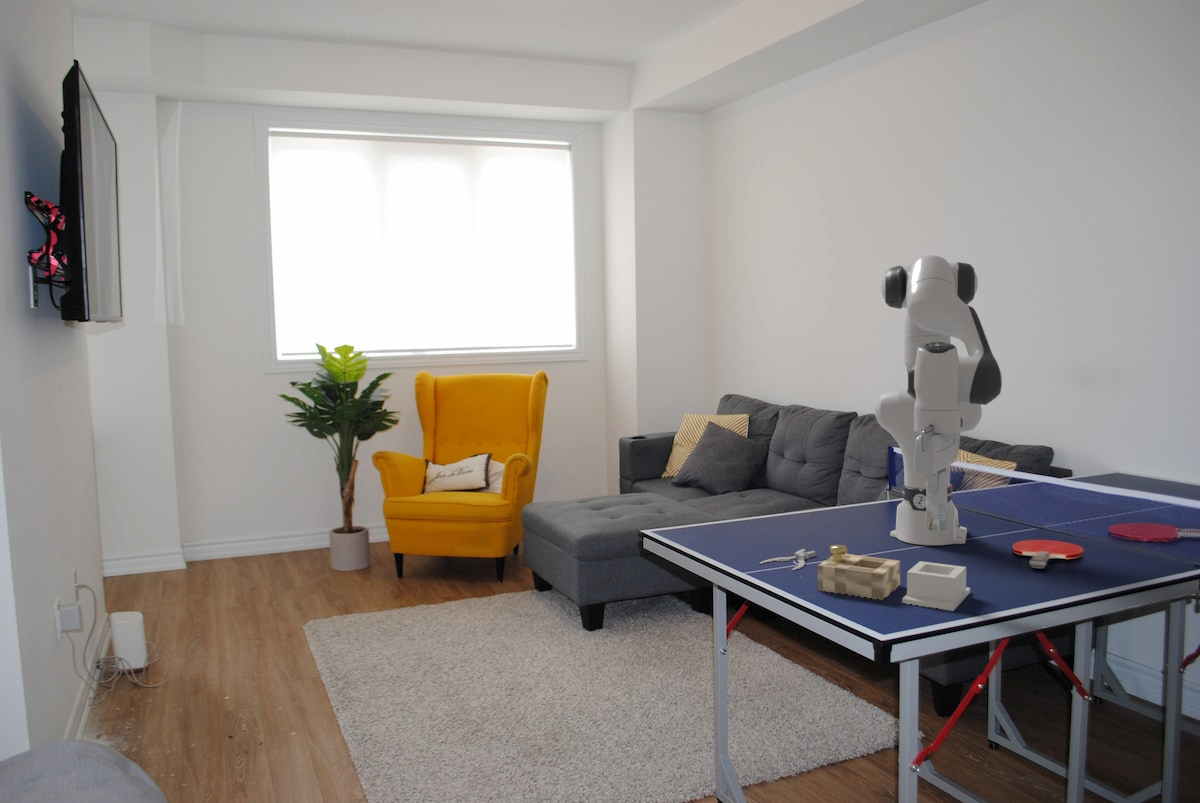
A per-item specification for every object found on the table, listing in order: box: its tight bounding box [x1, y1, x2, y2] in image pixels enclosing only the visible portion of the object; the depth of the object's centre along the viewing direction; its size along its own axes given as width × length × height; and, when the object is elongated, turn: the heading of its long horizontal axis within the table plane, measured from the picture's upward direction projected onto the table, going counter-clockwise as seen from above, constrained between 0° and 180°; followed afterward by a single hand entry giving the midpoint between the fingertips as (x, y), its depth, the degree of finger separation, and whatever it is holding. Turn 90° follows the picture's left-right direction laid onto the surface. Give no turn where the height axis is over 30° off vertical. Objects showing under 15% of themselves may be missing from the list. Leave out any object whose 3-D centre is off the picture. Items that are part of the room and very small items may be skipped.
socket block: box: [816, 553, 901, 601], centre depth 196 cm, size 12×14×6 cm
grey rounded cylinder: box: [926, 470, 947, 531], centre depth 186 cm, size 4×4×12 cm
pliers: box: [758, 548, 816, 571], centre depth 219 cm, size 10×2×15 cm
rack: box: [901, 560, 971, 612], centre depth 187 cm, size 14×10×6 cm
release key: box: [829, 544, 848, 562], centre depth 198 cm, size 4×4×8 cm
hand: (936, 489), depth 186 cm, fingers closed on grey rounded cylinder, 4 cm apart
